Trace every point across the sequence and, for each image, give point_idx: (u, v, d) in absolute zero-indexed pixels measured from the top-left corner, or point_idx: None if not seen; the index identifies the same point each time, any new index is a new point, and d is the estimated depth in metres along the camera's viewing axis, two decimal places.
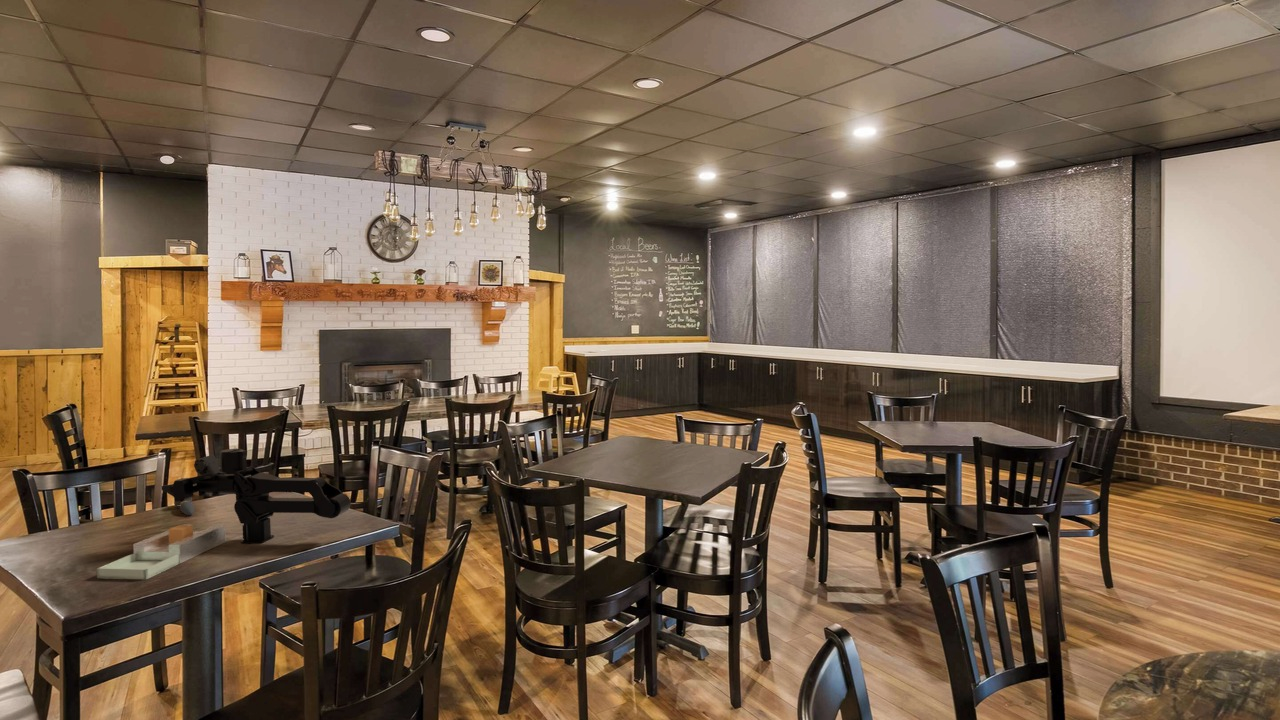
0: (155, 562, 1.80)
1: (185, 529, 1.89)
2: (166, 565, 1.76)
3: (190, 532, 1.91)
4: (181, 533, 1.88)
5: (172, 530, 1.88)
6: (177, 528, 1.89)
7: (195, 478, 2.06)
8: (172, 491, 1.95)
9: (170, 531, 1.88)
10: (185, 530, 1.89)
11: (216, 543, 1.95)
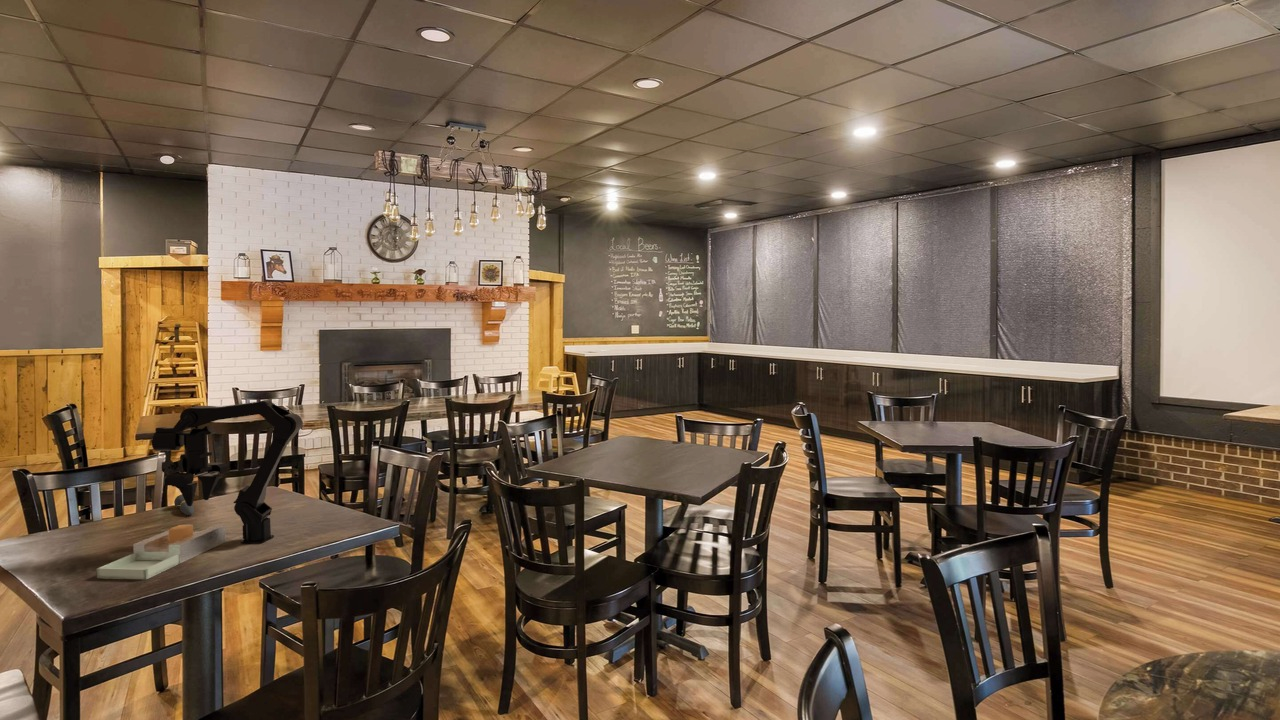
0: (155, 562, 1.80)
1: (185, 529, 1.89)
2: (166, 565, 1.76)
3: (190, 532, 1.91)
4: (181, 533, 1.88)
5: (172, 530, 1.88)
6: (177, 528, 1.89)
7: (203, 489, 2.00)
8: (188, 492, 1.92)
9: (170, 531, 1.88)
10: (185, 530, 1.89)
11: (216, 543, 1.95)
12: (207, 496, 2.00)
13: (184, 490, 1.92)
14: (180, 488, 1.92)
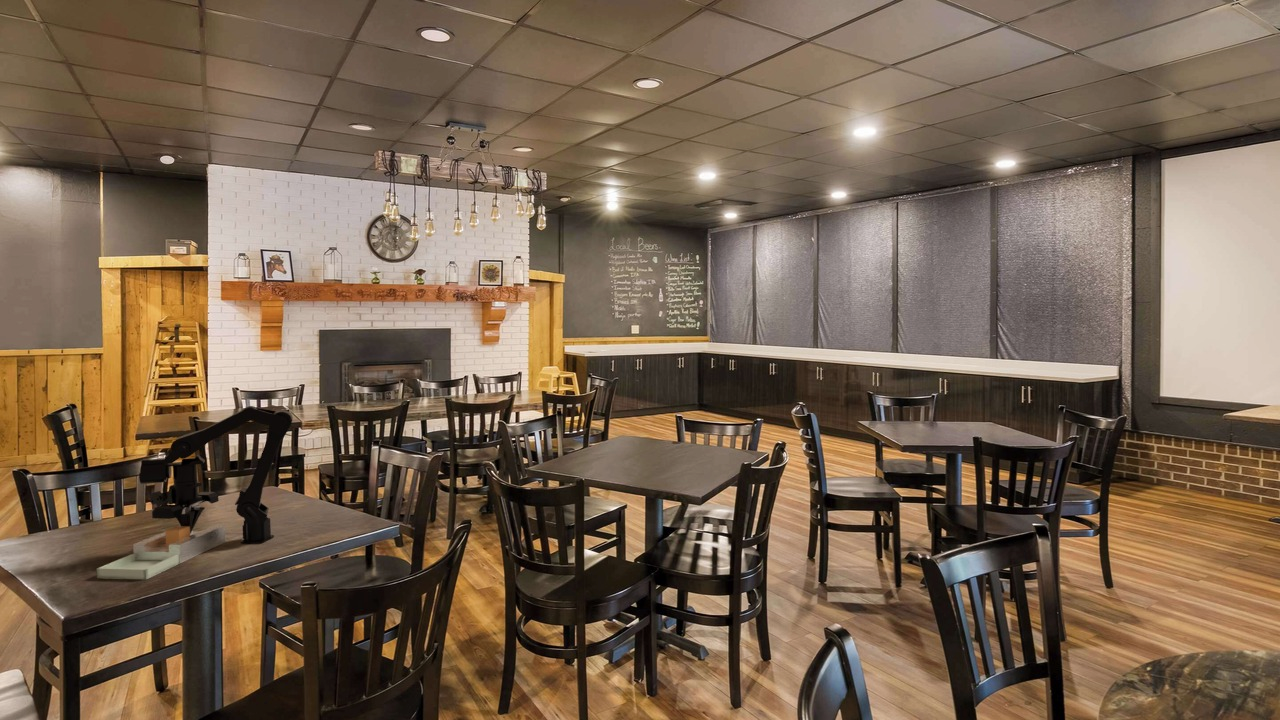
0: (155, 562, 1.80)
1: (182, 530, 1.88)
2: (166, 565, 1.76)
3: (187, 533, 1.90)
4: (178, 535, 1.87)
5: (168, 531, 1.87)
6: (174, 529, 1.88)
7: None
8: (186, 521, 1.91)
9: (167, 532, 1.87)
10: (181, 531, 1.88)
11: (216, 543, 1.95)
12: None
13: (181, 519, 1.91)
14: (177, 517, 1.91)
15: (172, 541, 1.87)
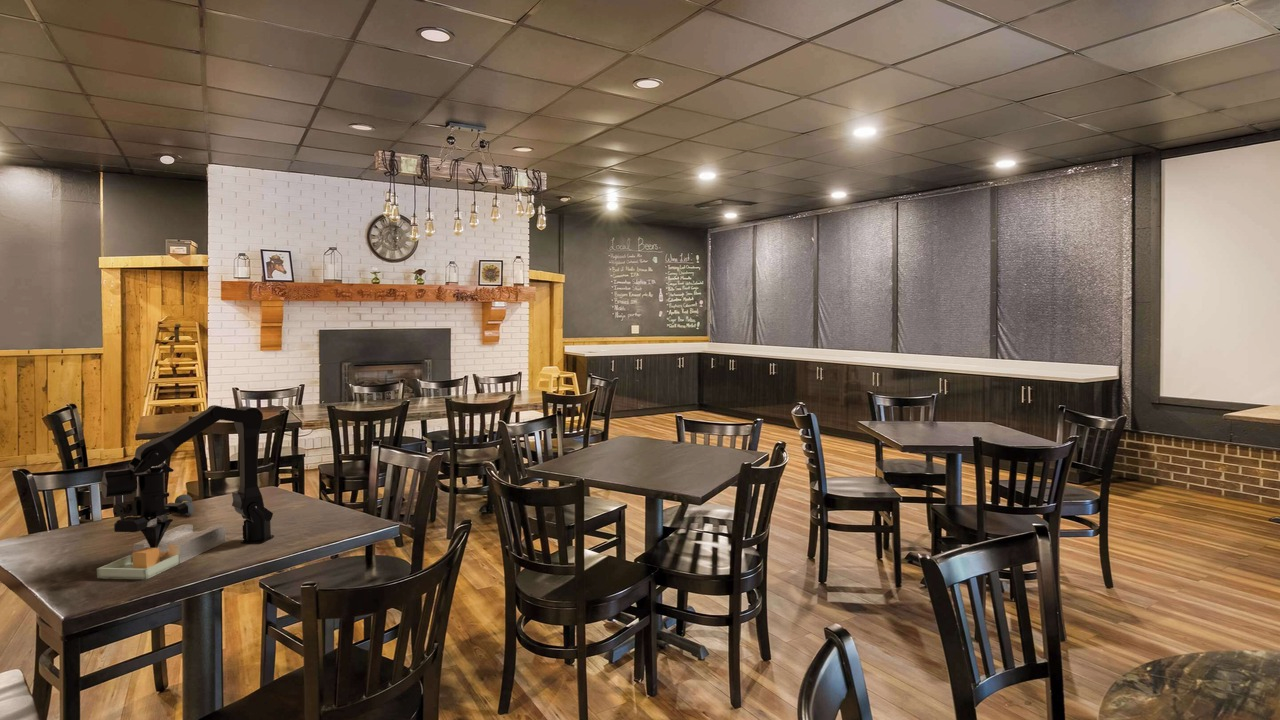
0: None
1: (147, 563, 1.76)
2: (166, 565, 1.76)
3: (152, 554, 1.78)
4: None
5: None
6: (139, 564, 1.76)
7: None
8: (151, 535, 1.79)
9: None
10: (148, 563, 1.77)
11: (216, 543, 1.95)
12: None
13: (147, 532, 1.79)
14: (143, 530, 1.79)
15: None
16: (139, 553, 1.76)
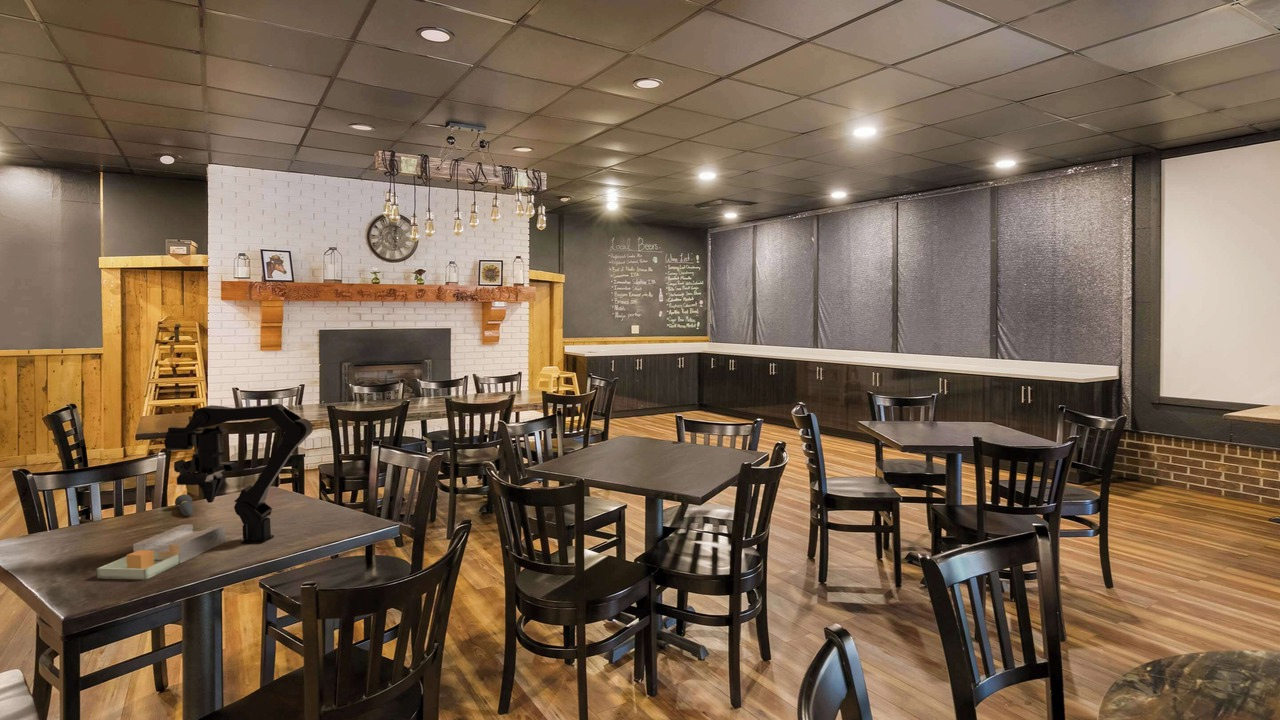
0: (155, 562, 1.80)
1: (142, 566, 1.74)
2: (166, 565, 1.76)
3: (146, 557, 1.76)
4: None
5: None
6: (133, 567, 1.74)
7: None
8: (208, 489, 1.96)
9: None
10: (142, 566, 1.75)
11: (216, 543, 1.95)
12: None
13: (204, 487, 1.96)
14: (200, 485, 1.96)
15: None
16: (133, 556, 1.74)
